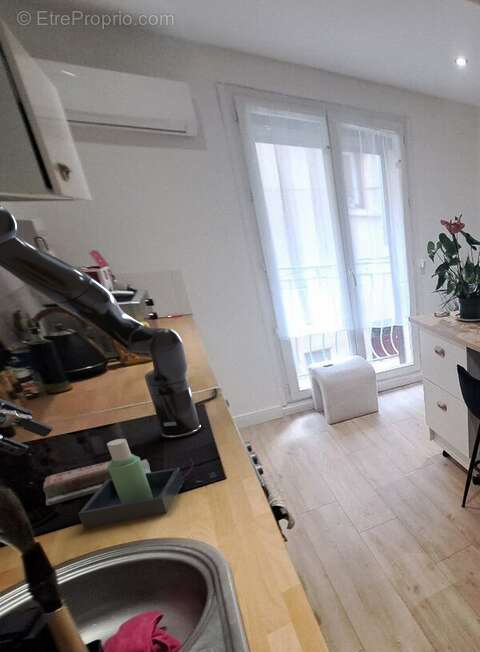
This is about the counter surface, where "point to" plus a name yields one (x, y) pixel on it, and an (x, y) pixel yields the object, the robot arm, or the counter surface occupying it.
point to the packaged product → (78, 482)
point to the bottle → (127, 473)
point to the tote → (111, 511)
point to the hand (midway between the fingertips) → (37, 441)
